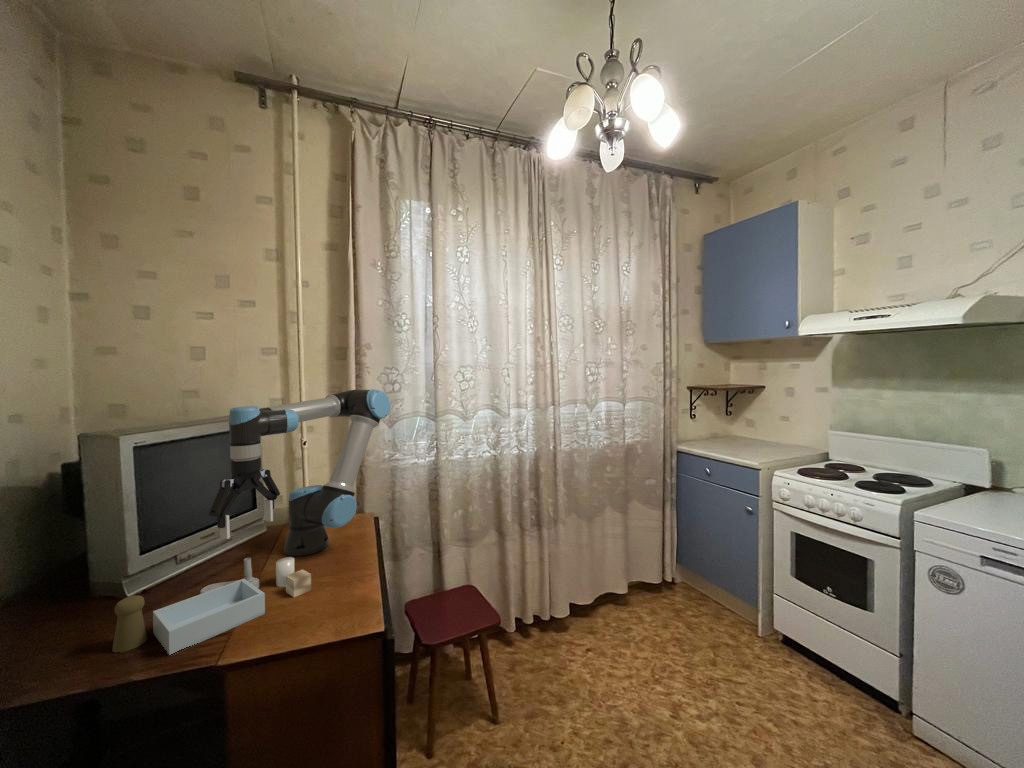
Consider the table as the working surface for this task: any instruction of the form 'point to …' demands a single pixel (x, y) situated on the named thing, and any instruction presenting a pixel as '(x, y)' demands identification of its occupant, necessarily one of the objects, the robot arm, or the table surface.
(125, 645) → the cork
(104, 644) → the table surface
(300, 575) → the beech cube
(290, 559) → the white egg
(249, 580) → the electronic device
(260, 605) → the tote
